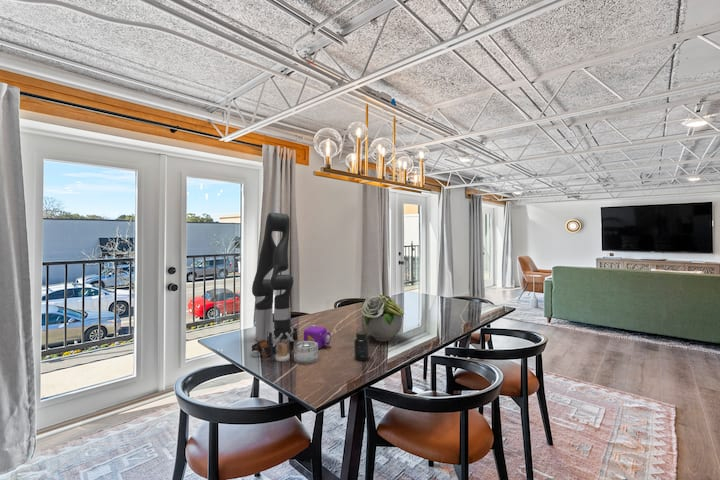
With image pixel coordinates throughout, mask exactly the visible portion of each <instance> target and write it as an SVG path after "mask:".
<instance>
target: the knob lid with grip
mask: <svg viewBox="0 0 720 480" xmlns="http://www.w3.org/2000/svg"><path fill="white" fill-rule="evenodd" d="M277 352H278V353H276V354H275V361H277V362H286V361H288V360H290V359H291V358H290V355H291V354H290V353H289V352H288V344H286V343H284V342H279V343H277Z"/></svg>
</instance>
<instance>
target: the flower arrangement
mask: <svg viewBox="0 0 720 480" xmlns="http://www.w3.org/2000/svg"><path fill="white" fill-rule="evenodd" d="M403 311H404V310H403V308H401V307H400V306H399V305H398V304H397V303H396V300H395V298H392V297H390V296H387V295H382V294H380V295H372V296H369V297H367V298H366V299H365V300H364V303H363V304H362V307H361V308H360V312H361V314H362V315H363V320H362V321H363V327H364V330H365V332H366V333H367V334H369V335H370V336H372V337H374V339H375V341H377V342H378V341H379V342H388V341H390V340H391V339H392V338H393V337H394V336H396V335H397V334H399V332H401V328H402V325H403V319H404V315H405V312H403Z"/></svg>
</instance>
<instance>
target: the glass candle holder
mask: <svg viewBox="0 0 720 480" xmlns="http://www.w3.org/2000/svg"><path fill="white" fill-rule="evenodd" d="M318 360H319V349H318V343H317V342H314V341H304V340H303V341H296V343H295V342H294V348H293V361H294V363H296V364H299V365H309V364H313V363H317V361H318Z"/></svg>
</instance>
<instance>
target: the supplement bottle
mask: <svg viewBox="0 0 720 480" xmlns="http://www.w3.org/2000/svg"><path fill="white" fill-rule="evenodd" d="M355 334H356V336H355V337H356V338H354V341H353V344H354V345H353V346H354V351H353V352H354V359H355V360H356V361H359V362H365V361H368V360H369V359H370V340H369V339H368V336H367V335H368V332H367V331H357V332H356V333H355Z"/></svg>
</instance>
